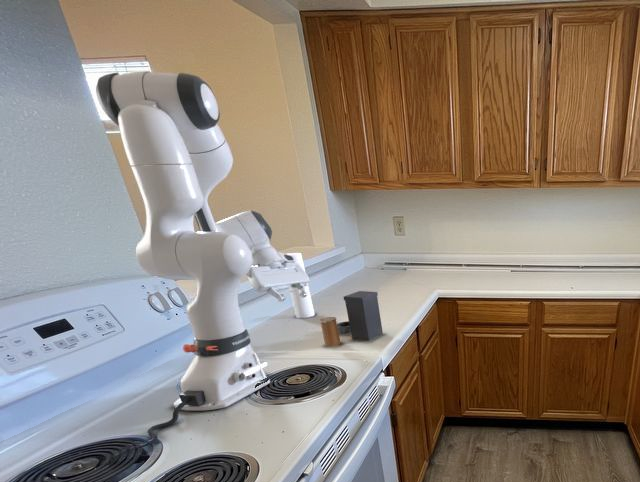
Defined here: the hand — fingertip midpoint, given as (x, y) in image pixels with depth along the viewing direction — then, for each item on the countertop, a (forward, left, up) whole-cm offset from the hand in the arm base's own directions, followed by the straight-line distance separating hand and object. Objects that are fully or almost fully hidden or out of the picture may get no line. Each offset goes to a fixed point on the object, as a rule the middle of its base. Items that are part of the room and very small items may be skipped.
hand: (294, 298), depth 137 cm
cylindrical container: (+32, +17, -15) cm, 39 cm away
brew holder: (+10, -11, -15) cm, 21 cm away
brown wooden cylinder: (-4, -12, -15) cm, 20 cm away
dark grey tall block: (+4, -21, -15) cm, 26 cm away
